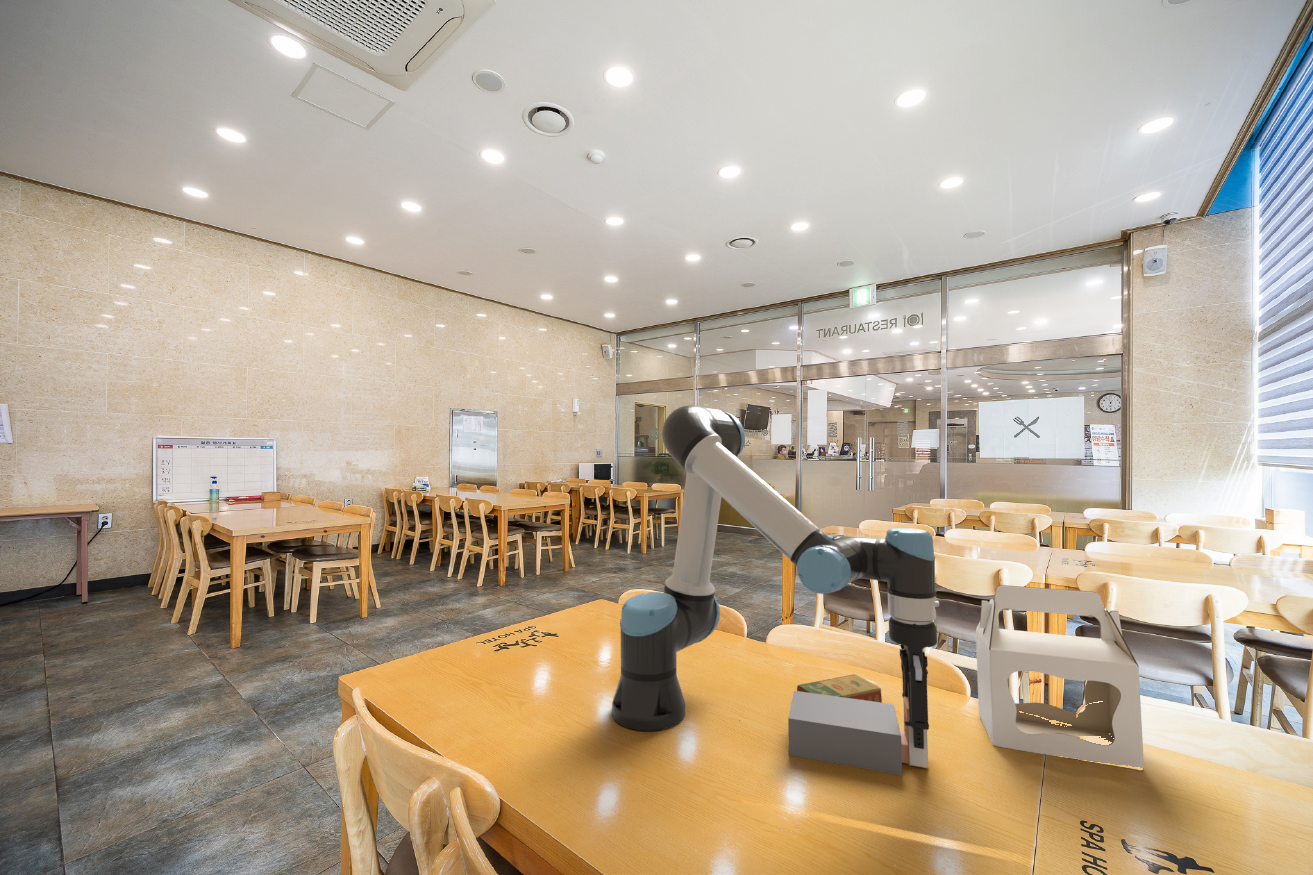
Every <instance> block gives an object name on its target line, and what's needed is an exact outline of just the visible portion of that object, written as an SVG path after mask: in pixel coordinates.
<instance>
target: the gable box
mask: <svg viewBox="0 0 1313 875" xmlns="http://www.w3.org/2000/svg"><path fill="white" fill-rule="evenodd" d="M994 592H995V593H994V598H991V599H990V600H989V601H988V600H987V599H986V600H985V599H981V603H980V604H981V605H980V606H981V607H980V619H979V623H978V624H977V626H976V628H975V644H976V645H975V646H976V668H977V669H976V671H977V672H976V673H977V676H976V677H977V698H978V699H977V700H979V701H978V703H977V704H978V715H979V718H980V720H981V722H982V724H983V726H984V728H985V731H986V733H987V735H988V738H989V740H990V743H991V744H992V745H993V747H998V748H1004V749H1011V750H1015V751H1016V750H1017V751H1021V752H1028V753H1034V754H1038V753H1039V755H1044V754H1046V755H1045V756H1050V755H1054V756H1053V757H1056V756H1063V757H1068V758H1074V759H1075V758H1076V759H1079V760H1087V761H1093V762H1101V763H1110V764H1115V765H1126V766H1128V765H1129V766H1132V767H1140V768H1144V769H1145V759H1144V744H1143V742H1144V741H1143V740H1144V737H1143V727H1142V726H1143V723H1142V722H1143V721H1142V706H1141V686H1140V685H1141V684H1140V683H1141V682H1140V669H1139V668H1140V666H1139V664H1138V663H1137V661H1136V659H1135V657H1134V655H1133V653H1132V651H1131V650H1130V648H1129V646H1128V644H1127V642H1126V640H1125V639H1124V636H1123V632H1122V631H1123V630H1122V626H1121V620H1120V613H1119V611H1118V610H1110V611H1108V609H1106V608H1105V607H1104V605H1103V601H1102V597H1101V596H1100V594H1099V592H1098V593H1097V592H1095V591H1088V590H1078V589H1077V590H1075V589H1065V588H1064V589H1063V588H1062V589H1061V588H1048V587H1047V588H1046V587H1033V586H1020V585H1006V584H1000V585H997V586H996V587H995V589H994ZM1003 610H1004V611H1009V610H1011V611H1021V612H1022V611H1024V612H1033V613H1034V612H1035V613H1036V612H1037V613H1046V614H1057V615H1059V614H1060V615H1070V616H1071V615H1072V616H1081V617H1087V618H1095V619H1096V620H1097V621H1098V622H1099V633H1100V636H1099V638H1098V637H1086V636H1080V635H1079V636H1075V635H1065V634H1058V633H1047V632H1046V633H1045V632H1035V631H1026V630H1025V631H1024V630H1016V629H1014V630H1013V629H1008V628H1005V629H1004V628H1000V624H999V620H1000V618H999V614H1000V612H1001V611H1003ZM1017 672H1034V673H1041V674H1044V675H1049V676H1053V677H1056V678H1059V679H1065V680H1069V681H1086V683H1085V686H1084V690H1083V697H1084V703H1085V704H1084V705H1087V704H1088V705H1087V706H1085V707H1084V710H1083V711H1081V712H1072V711H1068V710H1065V709H1063V708H1061V707H1058V706H1054V705H1052V704H1047V703H1044V702H1023V703H1022V702H1021V703H1020V702H1019V703H1017V702H1016V703H1015V700H1014V697H1013V695H1012V694H1011V693H1012V692H1011V690H1010V688H1009V684H1008V681H1009V677H1010V676H1011V675H1012V674H1014V673H1017ZM1098 701H1103V702H1099V703H1093V702H1098ZM1089 703H1092V704H1089ZM1019 711H1022V712H1024V713H1020V712H1019ZM1026 713H1028V714H1026ZM1077 713H1079V714H1078V717H1077V718H1076V714H1077ZM1029 714H1033V715H1029ZM1034 715H1038V716H1040V717H1036V716H1034ZM1041 717H1044V718H1046V719H1049V720H1056V721H1059V722H1063V723H1067V724H1071V725H1072V726H1067V725H1065V724H1062V726H1060V724H1061V723H1056V724H1059V725H1055V724H1051V722H1049V720H1045V719H1042V718H1041ZM1064 726H1065V727H1064ZM1066 726H1067V727H1066ZM1079 736H1101V738H1106V739H1104V740H1108V742H1109V741H1110V742H1112V743H1111V744H1109V745H1101V744H1096V743H1092V742H1089V741H1086V740H1083V739H1080V737H1079ZM1111 736H1112V737H1111ZM1099 738H1100V737H1099ZM1113 738H1114V739H1113ZM1079 760H1078V761H1079Z"/></svg>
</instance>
